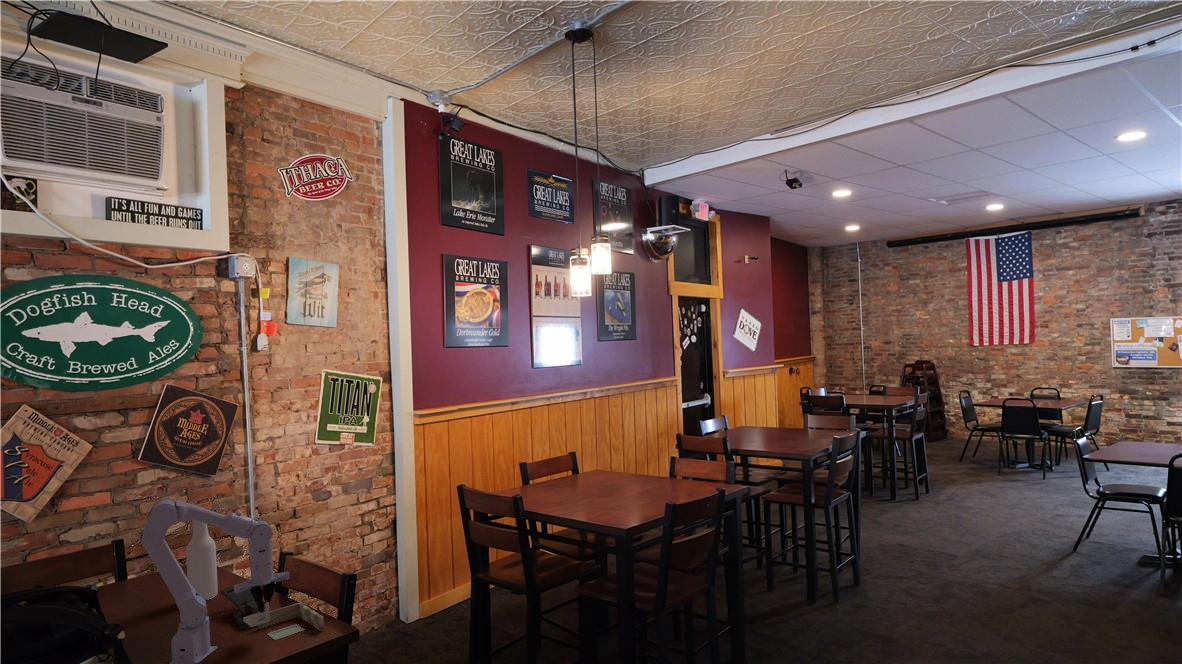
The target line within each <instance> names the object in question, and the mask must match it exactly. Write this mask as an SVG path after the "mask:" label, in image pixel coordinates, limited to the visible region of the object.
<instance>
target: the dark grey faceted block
mask: <svg viewBox="0 0 1182 664" xmlns="http://www.w3.org/2000/svg"><path fill="white" fill-rule="evenodd" d="M220 593H221V595H223V596H224V597H225V598H227V600H229V601H230V602H231V603H232V604H233V605H234V606H235V607H236V608H237V609H235V610H233V619H234V620H236V621H235V622H236V624H237V623H238V624H237V625H238V627H239V628H240V627H242V628H241V629H246V628H247V629H250V627H251V626H249V625H248V624H247V623H246V622H244V619H243V617H246V616H249V615H253V614H256V613H258V607H257V604H256V601H255V599H254V597H253V595H252V594H251V592H250V591H249V590H245V591H242V592H240V593H237V594H236V593H235V592H234V585H232V586H229V587H226V588H224V589H221V590H220ZM256 627H258V625H257V626H256Z"/></svg>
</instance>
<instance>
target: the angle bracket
mask: <svg viewBox="0 0 1182 664" xmlns="http://www.w3.org/2000/svg"><path fill="white" fill-rule="evenodd" d="M270 611H271V610H270V606H269V602H268V601H267V600H265V599H264V597H263V612H262V613H260V612H259V611H258V613H256V614H253V615H249V616H246V617H243V619H244V622H246V623H247V624H248V625H249V626H251V627H252V628H255V627H254V626H256V627H258V626H257V625H260V624H263V623H266V622H269V621H270Z"/></svg>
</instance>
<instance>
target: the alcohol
mask: <svg viewBox="0 0 1182 664" xmlns="http://www.w3.org/2000/svg"><path fill="white" fill-rule="evenodd" d="M185 550H186V553H185V555H186V557H185V558H186V573H187V574H186V577H187V579H188V580H189V582H190V584H191V585H192V586H193V587H194V589H195V590H196V592H197V593H198V594H200V595H202V596H204V598H205V599H206V600H208V601H210V600H209V599H211V600H213V599H215V598H216V597H217V595H218V593H219V591H218V590H219V587H218V586H219V585H218V568H217V567H218V565H217V545H216V542H215V540H214V539H213V538H212V537H211V536H210V533H209V529H208V523H204V522H200V521H196V520H193V521H192V537H191V540H190V541H189V543H188V544H187V545H186V549H185ZM215 596H216V597H215ZM214 597H215V598H214ZM212 598H213V599H212Z"/></svg>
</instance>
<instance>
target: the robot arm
mask: <svg viewBox="0 0 1182 664" xmlns="http://www.w3.org/2000/svg"><path fill="white" fill-rule="evenodd" d="M177 519H178V523H183V522H185V521H189V520H196V521H200V522H204V523H207V525H208V524H209V525H214V526H216V527H220V529H221V532H222V533H223V534H227V535H230V536H234V537H237V538H241V539H243V540H246V539H249V540H250V549H249V556H250V557H249V558H250V579H248V580H245V581H243V582H241V583H238V584H234V585H233V586H234V592H233V593H236V594H237V593H240V592H242V591H245V590H249V591H250V592H251V594H252V595H253V597H254V599H255V601H256V604H257V607H258V611H259V612H260V613H262V612H263V598H264V599H265V600H267V601H268V602H269V607H270V606H271V601H272V598H273V595H274V593H275V591H276V589H277V584H276V583H278V582H281V581H288V580H290V572H288V571H282V572H277V573H274V567H273V566H274V564H273V546H272V538H273V535H274V532H273V530H272V527H271V525H270V523H268V522H267V521H265V520H263V519H259V518H257V517H254V518H251V517H248V516H245V515H243V513H242V512H241V511H237V512H231V513H228V514H222V513H219V512H216V511H214V510H210V509H208V508H205V507H202V506H199V505H196V504H192V503H189V502H186V501H182V500H176V501H175V500H174V499H172V498H167V497H165V498H161V499H158V500H156V502H155V503H153V505H152V506H151V508H150V510H149V511H148V512H147V516H146V521H145V525H144V530H143V534H142V540H141V543H142V546H143V547H144V549H145V551H146V553H147V554H148V557H149V558H150V560H151V561H152V563H153V564H154V566H155V567H156V570H157V571H158V573H159V575H160V577H161V578H162V579H163V581H164V583H165V584H166V586H167V588H168V590H169V591H170V593H171V595H172V597H173V598H174V601H175V603H176V606H177V609H178V610H179V613H180V615H179V617H180V618H179V621H180V622H179V623H178V629H177V632H176V633H175V635H173V637H172V639H171V643H170V644H171V645H170V646H171V661H169V663H168V664H199V663H200V662H202V661H203V660H204V659H206V658H207V657H208V656H209V655H211V654H212V653H213V652H215V651H216V650H217V649H218V646H216V645H215V646H211V634H210V633H211V631H210V630H211V629H210V628H211V627H210V617H209V616H208V608H207V601H206V599H205V598H204V596H202V595H200V594H198V593H197V592H196V590H195V589H194V587H193V586H192V585H191V584H190V582H189V580H188V579H187V574H185V572H184V570H183V569H182V567H181V565H180V564H179V561H178V560H177V559H176V556H175V554H174V553H173V551H172V549H171V548H170V546H169V544H168V542H167V541H166V539H165V537H166V534H167V532H168V529H170V528H171V526H172V525H174V524H175V522H176V521H177Z"/></svg>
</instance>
